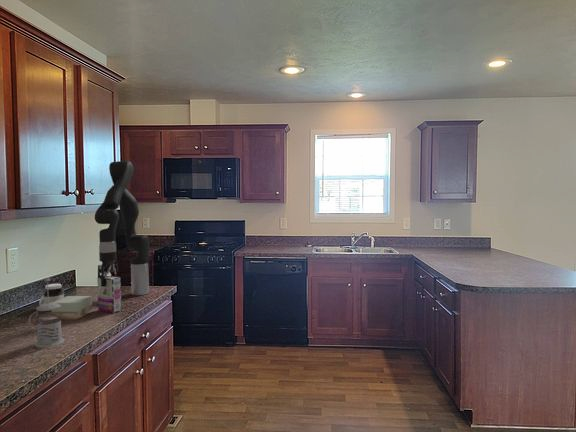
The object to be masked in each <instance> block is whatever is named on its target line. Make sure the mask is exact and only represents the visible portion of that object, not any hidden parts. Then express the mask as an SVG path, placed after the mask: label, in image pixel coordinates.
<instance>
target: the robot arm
mask: <svg viewBox="0 0 576 432" xmlns="http://www.w3.org/2000/svg"><path fill="white" fill-rule="evenodd" d="M108 166H109V167H108V168H109V174H110V177H111V181H112V184H113V185H112V186H111V187H110V188H109V189H108V190H107V192H106V195H105V197H104V199H103V201H102V203H101V204H100V206H99V207H98V208H97V210H96V211H95V214H94V221H95V222H96V223H97V224H99V225H109V226H108V227H107V228H104V229H100V230H99V232H98V233H99V236H98V237H99V246H98V251H99V252H98V254H99V257H98V258H99V259H98V260H99V262H101V264H99V265H97V277H98V278H101V286H103V287H105V286H106V277H107V276H108V275H109V274H110V276H112V277H117V276H116V275H117V274H118V273H119V262H118V260H117V257H118V256H117V242H116V232H117V228H118V227H117V226H118V222H119V219H120V214H121V218H122V222H123V227H124V235H125V240H126V241H125V242H126V247H127V249H128V250H129V251H131V252H137V256H134V257H132V258H131V259H130V277H131V278H130V279H131V280H130V283H131V284H130V285H131V295H132V296H144V295H147V294H149V293H150V281H149V280H150V277H149V274H150V273H149V272H150V271H149V258H150V238H149V236H148V235H145V234H137V233H136V229H135V227H136V223H137V219H138V217H139V213H140V211H139V205H138V201H137V199H136V198H135V196H134V195H133V194H132V193H131V192H130V191H129V190H128V189H127V187H128V185H129V184H130V181H131V179H132V178H133V176H134V165H133V163H132V162H131V161H129V160H119V161H112V162H110V163H109V165H108ZM118 208H119V210H120V214H119V212H118V210H117V209H118Z"/></svg>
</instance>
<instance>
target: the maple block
mask: <svg viewBox="0 0 576 432" xmlns="http://www.w3.org/2000/svg"><path fill="white" fill-rule="evenodd" d="M90 313H92V305H90V306H88V307H86V308H84V309H82V310H80V311H78V312H55V311H52V310H50V315H59V316H60V317H59V318H58V319H60V320H74V321H75V320H78V319H79V320H80V318H82V317H84V316H86V315H88V314H90Z"/></svg>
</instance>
